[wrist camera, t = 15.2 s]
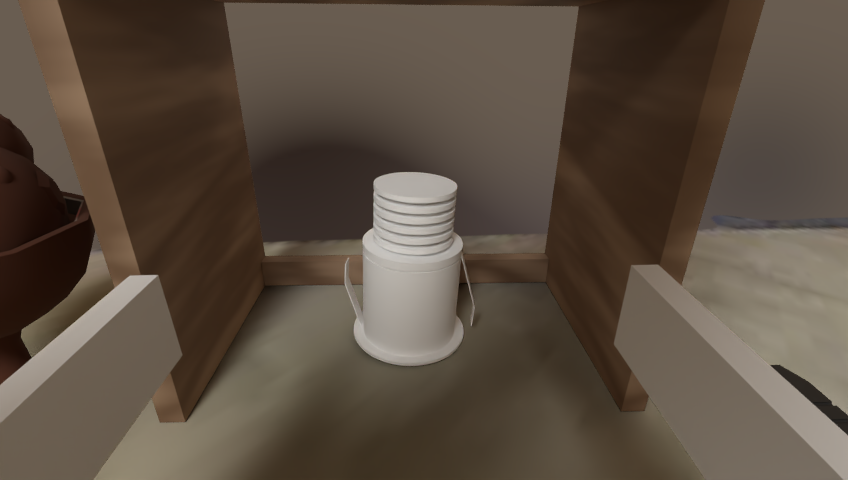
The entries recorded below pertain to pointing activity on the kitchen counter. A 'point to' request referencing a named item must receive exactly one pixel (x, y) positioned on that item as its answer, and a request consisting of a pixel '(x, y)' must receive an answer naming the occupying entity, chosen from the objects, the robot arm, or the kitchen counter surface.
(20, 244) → the ice cream bowl
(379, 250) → the downlight
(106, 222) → the counter shelf
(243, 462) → the kitchen counter surface
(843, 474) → the robot arm
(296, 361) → the kitchen counter surface
